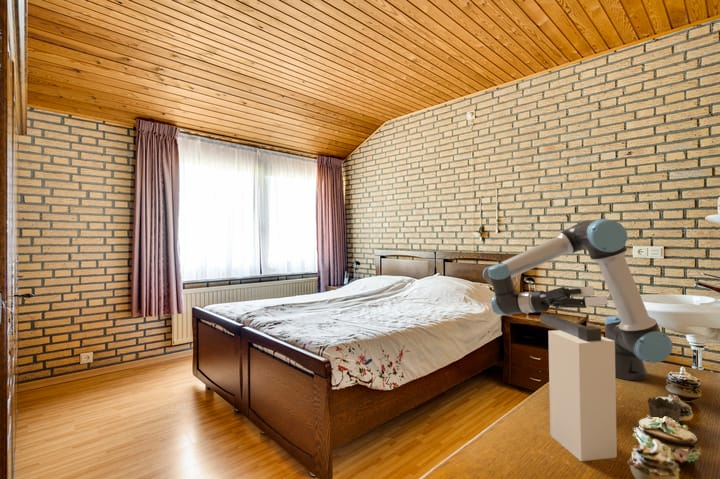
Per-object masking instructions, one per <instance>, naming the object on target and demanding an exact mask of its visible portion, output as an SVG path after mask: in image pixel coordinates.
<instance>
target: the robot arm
mask: <svg viewBox="0 0 720 479" xmlns="http://www.w3.org/2000/svg"><path fill="white" fill-rule="evenodd" d="M627 241H628V232H627V229H626V228H625V226H623V225H622V224H621V222H619V221H616V220H613V219H609V218H600V219H591V220H590V219H589V220H588V219H587V220H583V221H581V222H577V224H575V225H573V226H571V227H569V228H567V229H564V230H563V231H561V232H558V234H557V235H556V237H554V238H552V239H549V240H547V241H545V242H543V243H541V244H538V245H536V246H533V247H532V248H529V249H527V250H525V251H523V252H521V253H518V254H516V255H514V256H512V257H509V258H507V259H505V260H503V261H501V262H499V263H497V264H494V265H489V266H487V267H485V268H484V269H483V271H482V277H483V279H484V281H485V282H486V283H487V284H489V285H491V286H492V288H493V292H494V296H492V298H491V300H490V303H491V310H492V311H493V312H494V313H495V314H496V315H498V316H500V315H502V316H505V315H506V316H509V315H517V314H526V315H529V313H543V312H548V311H549V308H550V306H551V307H553V308H555V309H562V308H564V309H565V308H566V309H567V308H568V309H586V308H587V307H593V306H594V307H595V306H605V305H607V306H608V305H609V302H608V301H609V300H608V296H607V295H606V296H605V295H604V296H603V295H602V296H595V290H594V286H593V285H591V286H581V287H573V288H567V287H565V286H562V287H557V288H554V289H551V290H547V291H544V290H535V291H525V292H516V288H515V286H514V282H513V278H514V277H516V276H518V275H521V274H523V273H525V272H528V271H530V270H533V269H534V268H536V267H539V266H540V265H543V264H546V263H547V262H551V261H553V260H554V259H557V258H559V257H561V256H563V255H565V254H570V255H572V254H574V253H577V252H579V251H587V252H588V255H589V257H590V260H592V261H594V262H596V263H597V264H598V267H599V270H600V272H601V274H602V277H603V279H604V281H605V284H606V287H607V289H608V291H609V294H610V296H611V298H612V302H613V304H614V306H615V310H616V311H617V313H618V315H608V316H606V317H605V322H604V327H605V328H604V329H605V330H604V333H605V338H608V339H611V340H614V341H615V378H617V379H623V380H627V381H644V380H646V379H648V370H647V368H646V365H645V363H644V361H645V362H646V363H650V364H651V363H653V364H654V363H657V364H658V363H660V362H663V361H665V360H666V359H667V358H669V356H670V354H672V351H673V347H674V346H673V341H672V339H671V338H670V336H668V335H667V334H666V333H664V332H662V331H661V328H660V327H659V326H660V325H658V322H657V320H656V319H655V318H653V317H651V316H650V315H649V313H648V311H647V309H646V306H645V304H644V301H643V298H642V296H641V294H640V292H639V289H638V286H637V283H636V281H635V279H634V277H633V274H632V272H631V269H630V266H629V264H628V262H627V260H626V257H625V254H626V253H627V251H628V249H627V246H626V244H627ZM586 296H594V297H586ZM576 297H577V298H576ZM578 297H583V298H578Z"/></svg>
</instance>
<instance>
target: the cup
mask: <svg viewBox="0 0 720 479" xmlns="http://www.w3.org/2000/svg"><path fill="white" fill-rule="evenodd" d="M647 403H648V404H647V405H648V411H649V415H650V418H651V417H659V418H663V417H664V416H668V417H670V418H672V419H673V420H675V421H676V422H678V424H679V422H680V418H681V411H682V410H681V409H682V406H681V404H680V403H677V401H673V402H670V401H669V399H668V398H665V399H664V398H662V397H660V396H659V397H657V398H656V397H655V396H653V397H648V398H647Z"/></svg>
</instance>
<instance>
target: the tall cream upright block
mask: <svg viewBox="0 0 720 479" xmlns="http://www.w3.org/2000/svg"><path fill="white" fill-rule="evenodd" d="M547 335H548V374H549V376H548V377H549V378H548V380H549V386H548V387H549V389H548V390H549V429H550V430H549V435H550V437H552V438H553V439H554V440H555V441H556V442H557V443H558V444H560V446H562V447H563V448H565V450H567V451H569V453H570V454H572V455H573V456H574V457H575V458H576V459H577V460H578V461H580V462H587V461H597V460H598V461H599V460H606V459H613V458H617V456H618V455H617V454H618V451H617V449H618V448H617V447H618V445H617V444H618V443H617V400H616V399H617V397H616V396H617V394H616V393H617V391H616V390H617V389H616V384H617V383H616V377H615V341H614V340H611V339H608V338H606V336H605V337H604V336H602V335H601V341H584V340H582V339H579V338H578V337H576V336H573V335H571V334H568V333H566V332H563V331H560V330H558V329H555V330H548V334H547Z"/></svg>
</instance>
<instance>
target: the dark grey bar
mask: <svg viewBox="0 0 720 479" xmlns="http://www.w3.org/2000/svg"><path fill="white" fill-rule="evenodd" d="M539 318H540V319H539V321H540V324H543V325H545V326H548V327H550V328H553V329H555V330H560V331H563V332H566V333H568V334H571V335H573V336H576V337H578V338H579V339H582V340H584V341H601V336H602V328H600V327H596V326H593V325H588V326H587V325H586V326H585V325H582V324H580V323H577V322H573V321H570V320H567V319H564V318H561V317H559V316H555V315H552V314H548V313H547V314H540V316H539Z"/></svg>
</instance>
